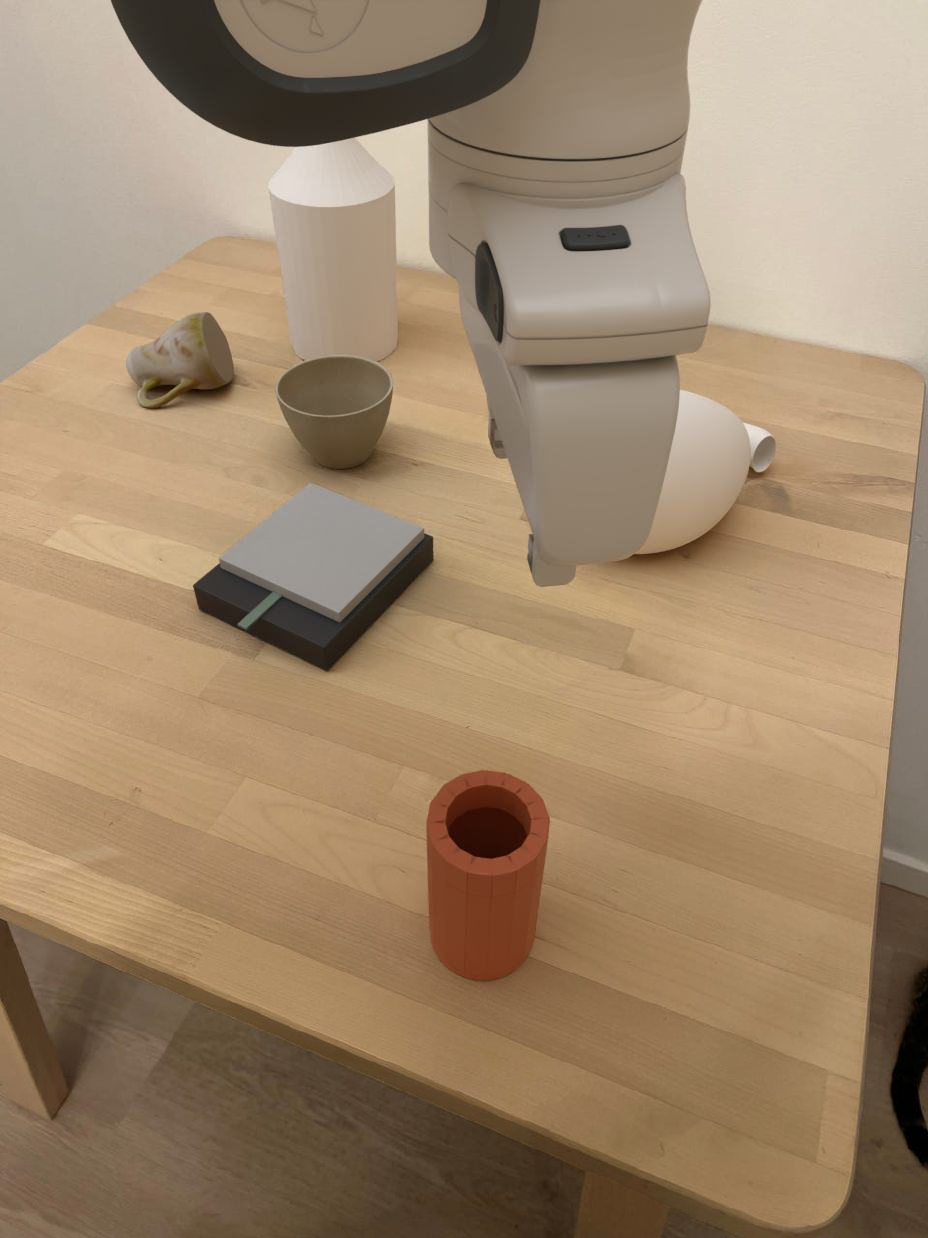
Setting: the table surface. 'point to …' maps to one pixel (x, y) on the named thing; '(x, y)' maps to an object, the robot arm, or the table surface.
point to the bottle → (337, 250)
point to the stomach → (704, 471)
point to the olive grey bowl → (336, 407)
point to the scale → (315, 574)
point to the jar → (485, 872)
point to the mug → (182, 359)
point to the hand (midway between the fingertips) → (527, 507)
